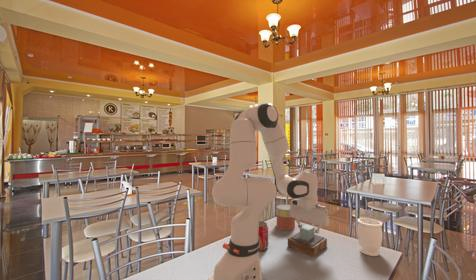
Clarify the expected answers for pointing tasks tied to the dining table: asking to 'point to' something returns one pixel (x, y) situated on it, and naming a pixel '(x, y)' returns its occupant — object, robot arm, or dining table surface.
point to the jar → (369, 236)
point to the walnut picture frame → (307, 244)
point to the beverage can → (263, 235)
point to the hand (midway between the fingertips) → (308, 230)
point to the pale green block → (307, 232)
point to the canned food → (285, 218)
